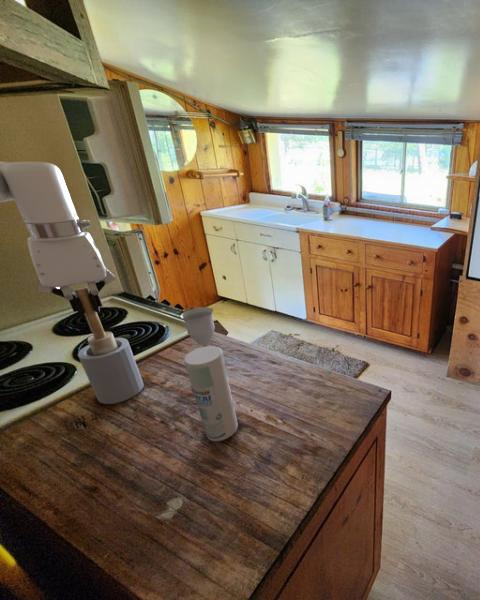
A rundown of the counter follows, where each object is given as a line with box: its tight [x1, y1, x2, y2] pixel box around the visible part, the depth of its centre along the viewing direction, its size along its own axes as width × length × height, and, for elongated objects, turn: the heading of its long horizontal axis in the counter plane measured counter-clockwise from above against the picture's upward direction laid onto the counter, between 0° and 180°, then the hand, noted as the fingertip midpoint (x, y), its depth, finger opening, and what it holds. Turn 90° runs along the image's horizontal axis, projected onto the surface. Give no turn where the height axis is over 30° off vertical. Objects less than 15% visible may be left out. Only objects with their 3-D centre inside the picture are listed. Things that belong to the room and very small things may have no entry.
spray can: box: [183, 345, 239, 442], centre depth 68 cm, size 6×6×20 cm
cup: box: [77, 337, 144, 405], centre depth 79 cm, size 9×9×13 cm
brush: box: [74, 286, 118, 356], centre depth 73 cm, size 4×4×17 cm
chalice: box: [180, 306, 216, 347], centre depth 87 cm, size 7×7×18 cm
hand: (89, 311), depth 72 cm, fingers closed on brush, 2 cm apart
